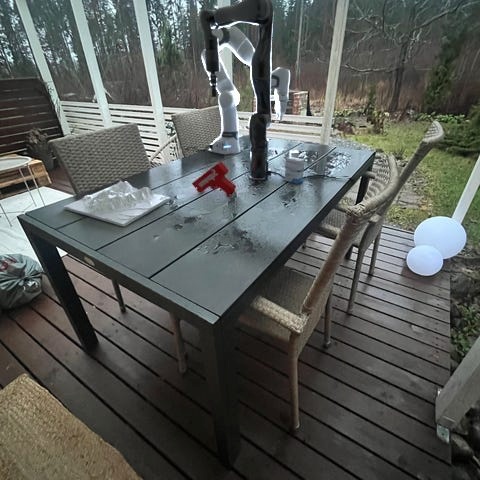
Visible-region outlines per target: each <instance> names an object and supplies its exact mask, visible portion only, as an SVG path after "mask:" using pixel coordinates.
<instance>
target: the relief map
mask: <svg viewBox="0 0 480 480" xmlns="http://www.w3.org/2000/svg"><path fill="white" fill-rule="evenodd" d="M170 200H171V197H170V196H168V195H163V194H157V193H155V192H154V191H153V190H151V189H150V187H147V186H143V187H141V188H139V189H138V188H137V187H134V186H132V185H131V183H129V182H128V181H125V180H124V181H122V180H121V179H120V180H119V181H118V182H117V183H115V184H112V185H111V186H109V187H106V188H104V189H102V190H99V191H97V192H95V193H91V194H85V195H84V196H83V197H82V198H81V199H78V200H76V201H73V202H71V203H68V204H66V205H64V206H63V208H64V210H67V211H70V212H72V213H73V212H74V213H77V214H79V215H83V216H87V217H90V218H93V219H97V220H100V221H104V222H107V223H111V224H114V225H117V226H120V227H126V226H128V225H129V224H131V223H133V222H135V221H137V220H138V219H140V218H142V217H143V216H145V215H147V214H148V213H150V212H152V211H154V210H155V209H157V208H159V207H160V206H162V205H164V204H166V203H168V202H169V201H170Z"/></svg>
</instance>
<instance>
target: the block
mask: <svg viewBox="0 0 480 480" xmlns="http://www.w3.org/2000/svg"><path fill="white" fill-rule="evenodd" d="M288 155H289V156H288V158H289V157H295V158H299V156H300V152H299V151H298V150H289V154H288Z"/></svg>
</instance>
